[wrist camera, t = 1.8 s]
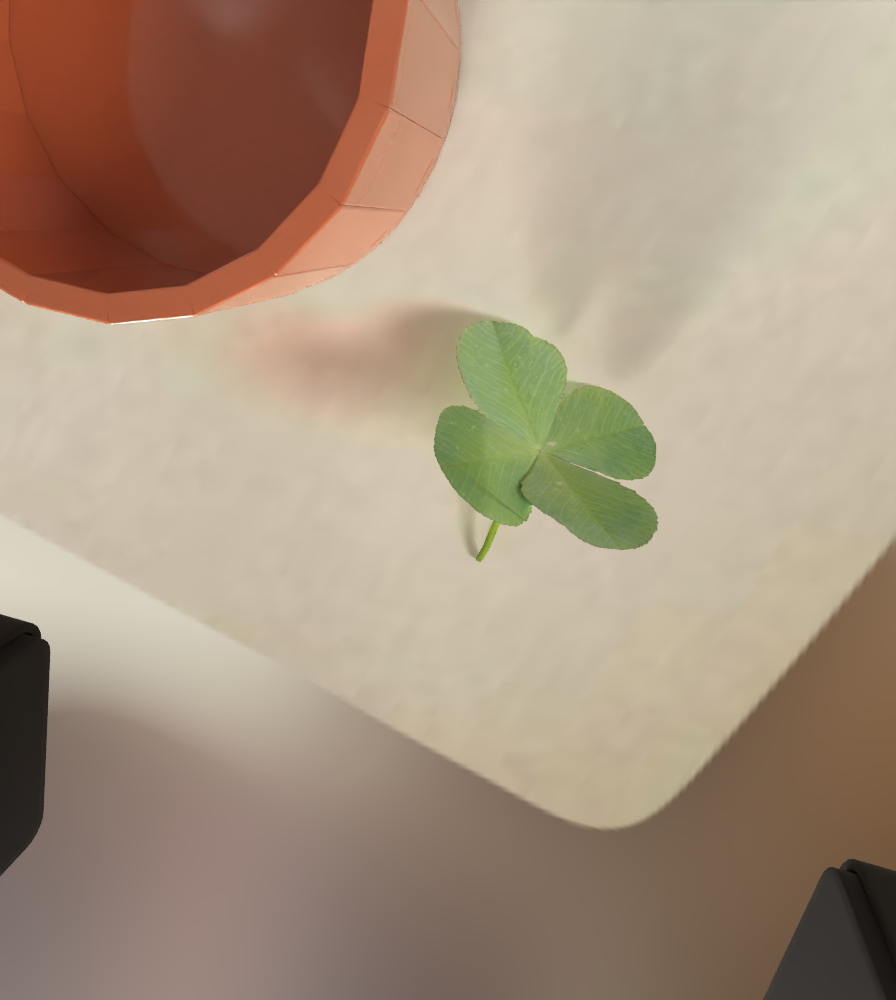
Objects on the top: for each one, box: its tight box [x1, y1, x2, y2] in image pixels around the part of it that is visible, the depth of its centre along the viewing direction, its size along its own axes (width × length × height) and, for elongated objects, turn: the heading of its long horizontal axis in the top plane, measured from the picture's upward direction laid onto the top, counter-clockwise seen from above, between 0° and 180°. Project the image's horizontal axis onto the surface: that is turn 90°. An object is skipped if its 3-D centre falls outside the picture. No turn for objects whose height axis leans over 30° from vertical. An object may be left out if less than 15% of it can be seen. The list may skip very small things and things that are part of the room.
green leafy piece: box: [434, 321, 658, 562], centre depth 24 cm, size 7×8×6 cm
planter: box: [0, 0, 461, 325], centre depth 20 cm, size 13×13×7 cm
